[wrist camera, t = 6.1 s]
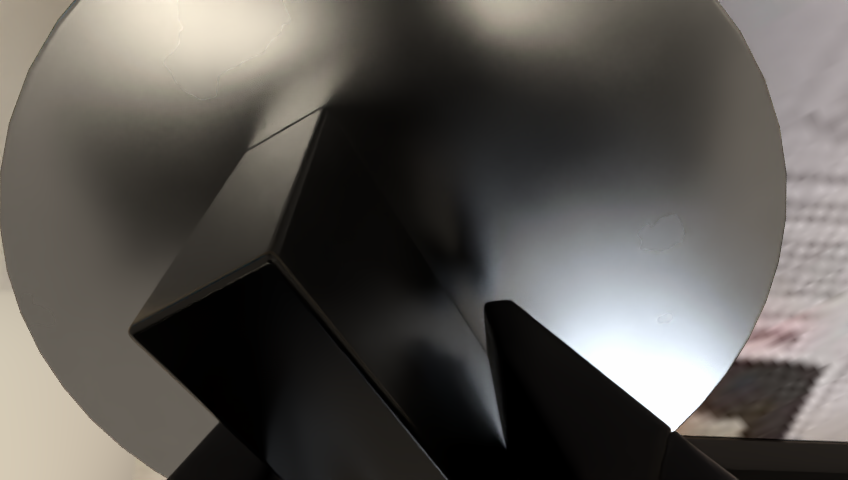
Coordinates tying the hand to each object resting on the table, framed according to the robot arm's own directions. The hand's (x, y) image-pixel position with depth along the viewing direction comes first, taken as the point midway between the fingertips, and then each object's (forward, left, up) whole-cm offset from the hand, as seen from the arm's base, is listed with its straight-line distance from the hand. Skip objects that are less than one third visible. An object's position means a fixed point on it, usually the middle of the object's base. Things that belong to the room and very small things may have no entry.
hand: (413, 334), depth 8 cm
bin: (0, 0, -8) cm, 8 cm away
